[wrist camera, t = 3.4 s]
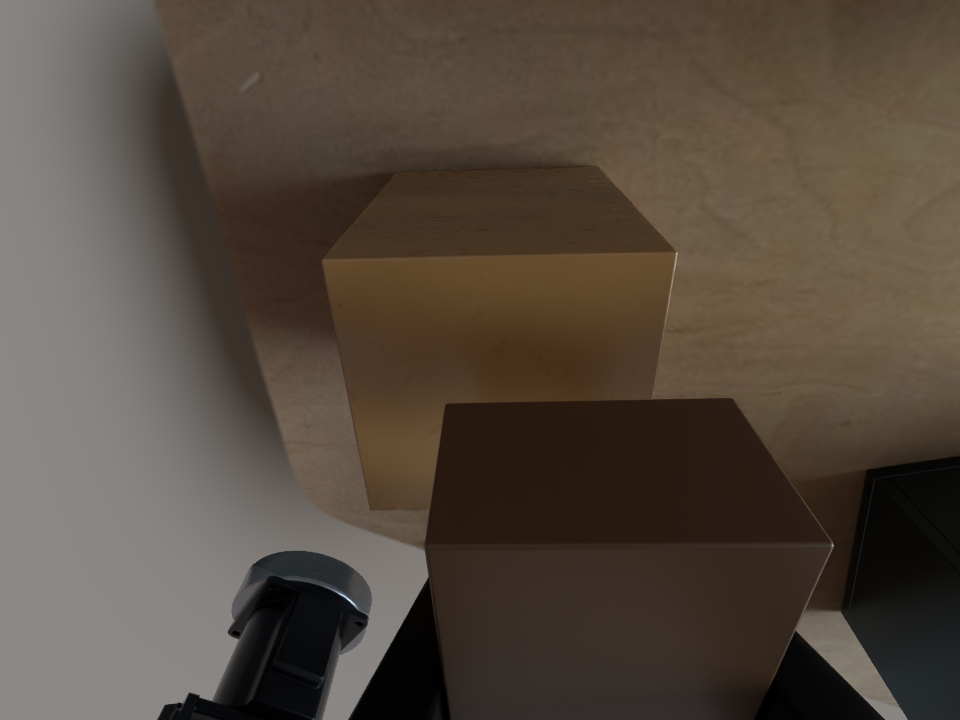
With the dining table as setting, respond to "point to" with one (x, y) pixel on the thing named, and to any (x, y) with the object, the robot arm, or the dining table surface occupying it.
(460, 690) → the brown block
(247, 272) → the dining table surface
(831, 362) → the dining table surface
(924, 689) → the trash bin
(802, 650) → the robot arm
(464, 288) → the stand
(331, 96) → the dining table surface
